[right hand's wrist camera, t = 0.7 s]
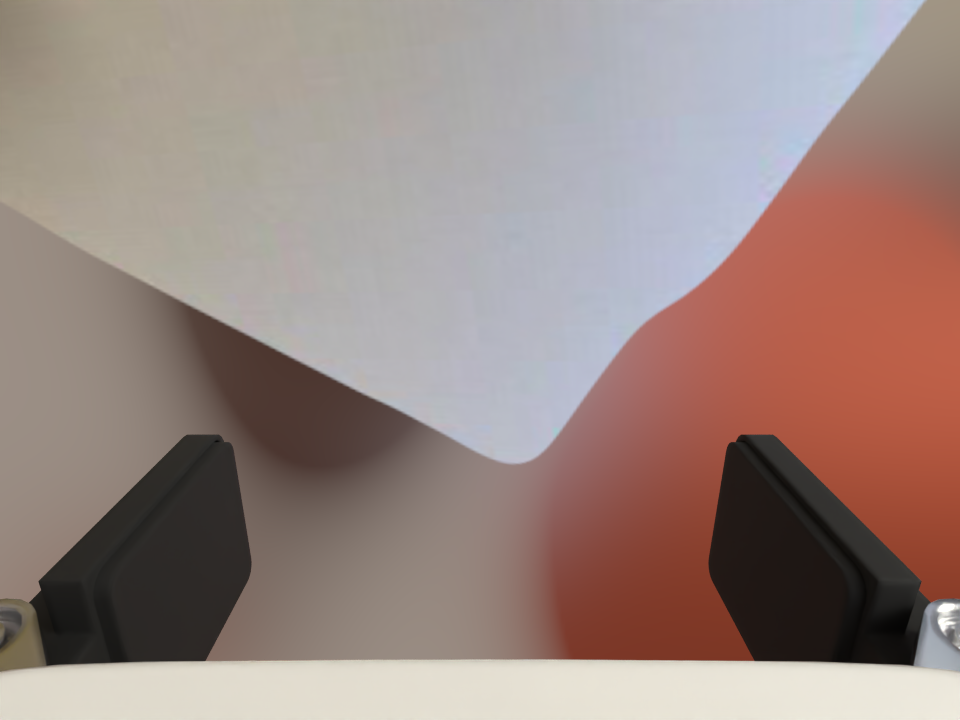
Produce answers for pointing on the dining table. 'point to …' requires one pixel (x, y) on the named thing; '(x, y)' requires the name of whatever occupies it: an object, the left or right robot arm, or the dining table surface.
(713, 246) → the dining table surface
